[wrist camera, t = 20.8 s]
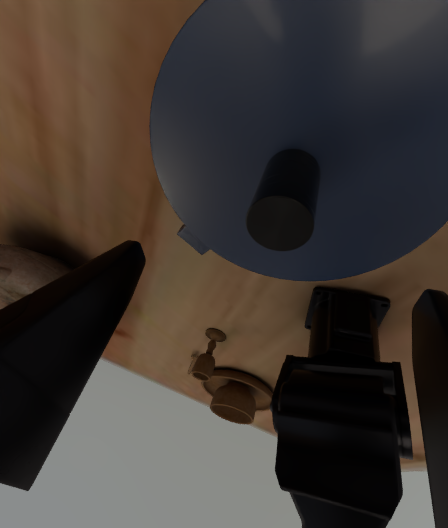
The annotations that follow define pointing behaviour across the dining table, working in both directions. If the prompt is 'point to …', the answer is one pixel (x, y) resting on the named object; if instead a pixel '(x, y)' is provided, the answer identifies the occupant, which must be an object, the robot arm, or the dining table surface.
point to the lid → (306, 132)
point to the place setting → (229, 386)
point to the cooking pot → (26, 272)
